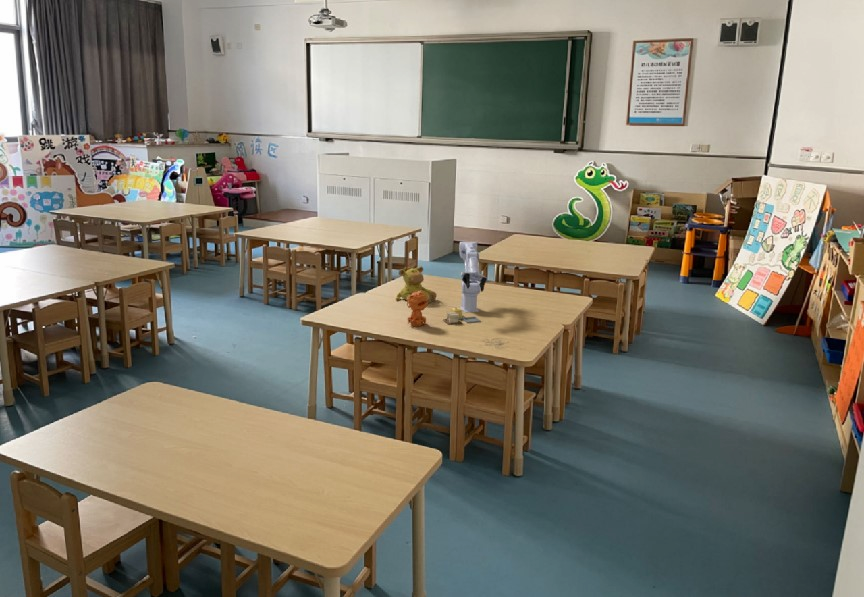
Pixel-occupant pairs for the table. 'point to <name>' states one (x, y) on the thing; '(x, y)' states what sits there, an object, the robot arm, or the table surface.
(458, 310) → the letter cube
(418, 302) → the orange toy figurine
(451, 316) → the maple block
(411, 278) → the green plush bear
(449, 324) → the tray walnut
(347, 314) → the table surface
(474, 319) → the tray slate
